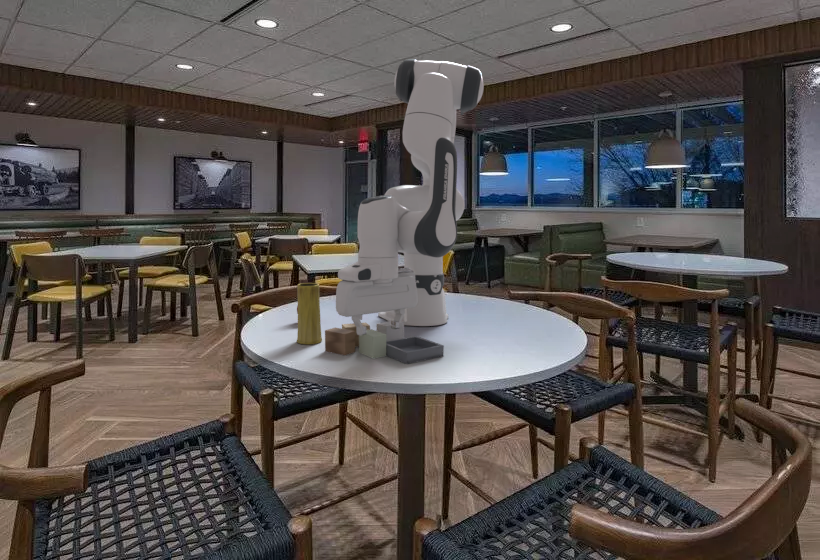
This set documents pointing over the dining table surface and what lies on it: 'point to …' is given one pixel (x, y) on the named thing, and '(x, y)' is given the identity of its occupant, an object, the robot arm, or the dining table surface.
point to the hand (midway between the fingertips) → (379, 331)
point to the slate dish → (413, 349)
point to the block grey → (391, 331)
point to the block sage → (373, 344)
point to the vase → (308, 314)
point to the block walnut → (340, 341)
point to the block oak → (353, 328)
